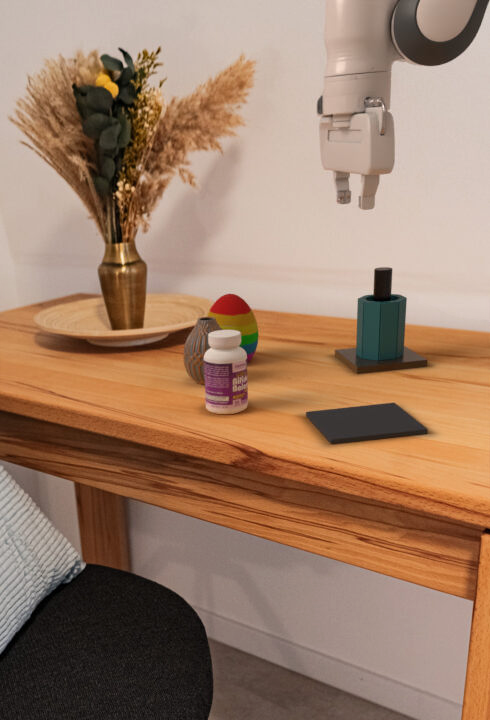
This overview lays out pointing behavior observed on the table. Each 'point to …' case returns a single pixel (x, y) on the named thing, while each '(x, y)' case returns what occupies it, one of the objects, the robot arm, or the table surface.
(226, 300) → the decorative egg
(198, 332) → the vase
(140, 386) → the table surface
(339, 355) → the post
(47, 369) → the table surface
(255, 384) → the table surface
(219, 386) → the pill bottle
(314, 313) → the table surface
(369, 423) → the felt pad
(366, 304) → the teal octagonal cup
